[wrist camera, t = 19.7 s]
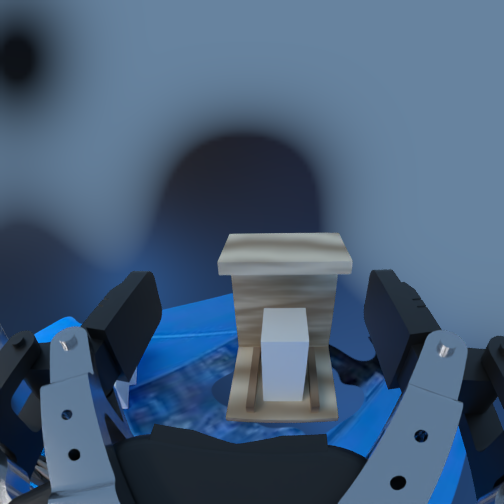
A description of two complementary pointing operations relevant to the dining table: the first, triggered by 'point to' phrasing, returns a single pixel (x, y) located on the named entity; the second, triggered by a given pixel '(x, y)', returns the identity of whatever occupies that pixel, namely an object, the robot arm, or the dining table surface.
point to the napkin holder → (125, 390)
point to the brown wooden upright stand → (283, 296)
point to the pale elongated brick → (284, 353)
